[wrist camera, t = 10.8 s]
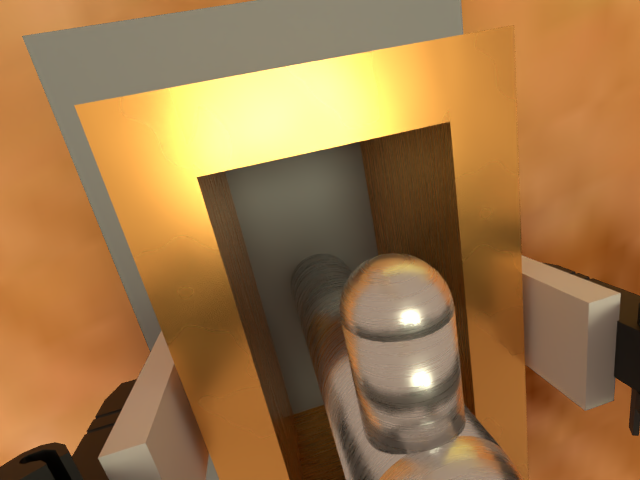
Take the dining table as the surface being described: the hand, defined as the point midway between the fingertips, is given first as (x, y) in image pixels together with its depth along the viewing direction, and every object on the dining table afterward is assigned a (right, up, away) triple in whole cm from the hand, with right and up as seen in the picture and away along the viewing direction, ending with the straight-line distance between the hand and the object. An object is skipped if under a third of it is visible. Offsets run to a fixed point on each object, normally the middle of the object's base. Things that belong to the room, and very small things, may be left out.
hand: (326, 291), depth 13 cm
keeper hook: (0, +1, +1) cm, 2 cm away
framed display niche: (0, 0, +1) cm, 1 cm away
